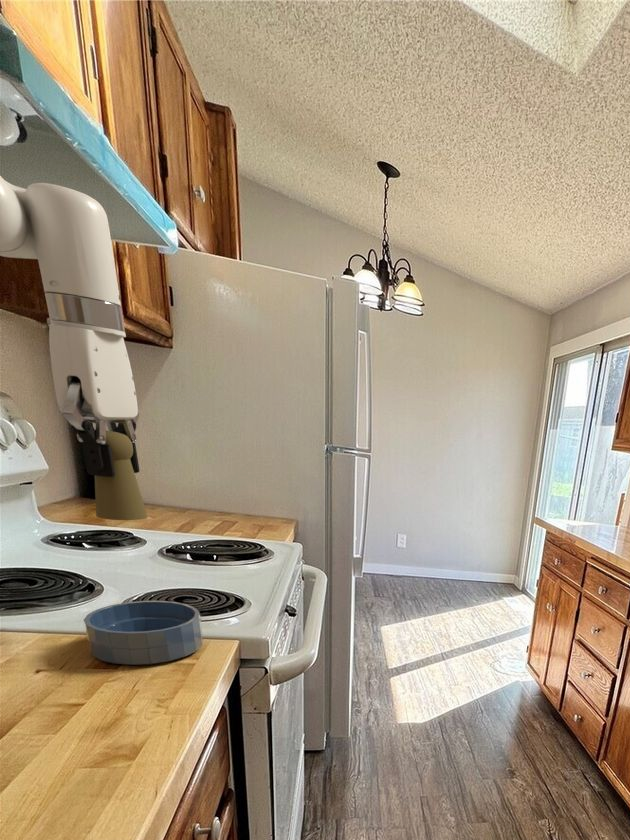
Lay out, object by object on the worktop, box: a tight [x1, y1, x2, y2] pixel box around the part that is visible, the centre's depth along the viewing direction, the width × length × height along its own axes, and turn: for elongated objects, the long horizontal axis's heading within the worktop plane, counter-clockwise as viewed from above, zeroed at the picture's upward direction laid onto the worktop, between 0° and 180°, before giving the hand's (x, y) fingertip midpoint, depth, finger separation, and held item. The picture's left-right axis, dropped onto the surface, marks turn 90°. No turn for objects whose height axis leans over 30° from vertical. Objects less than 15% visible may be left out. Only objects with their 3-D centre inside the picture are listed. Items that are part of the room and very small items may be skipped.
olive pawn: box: [94, 430, 148, 521], centre depth 76 cm, size 6×6×11 cm
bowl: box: [83, 600, 204, 666], centre depth 79 cm, size 14×14×5 cm
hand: (114, 472), depth 76 cm, fingers closed on olive pawn, 5 cm apart
